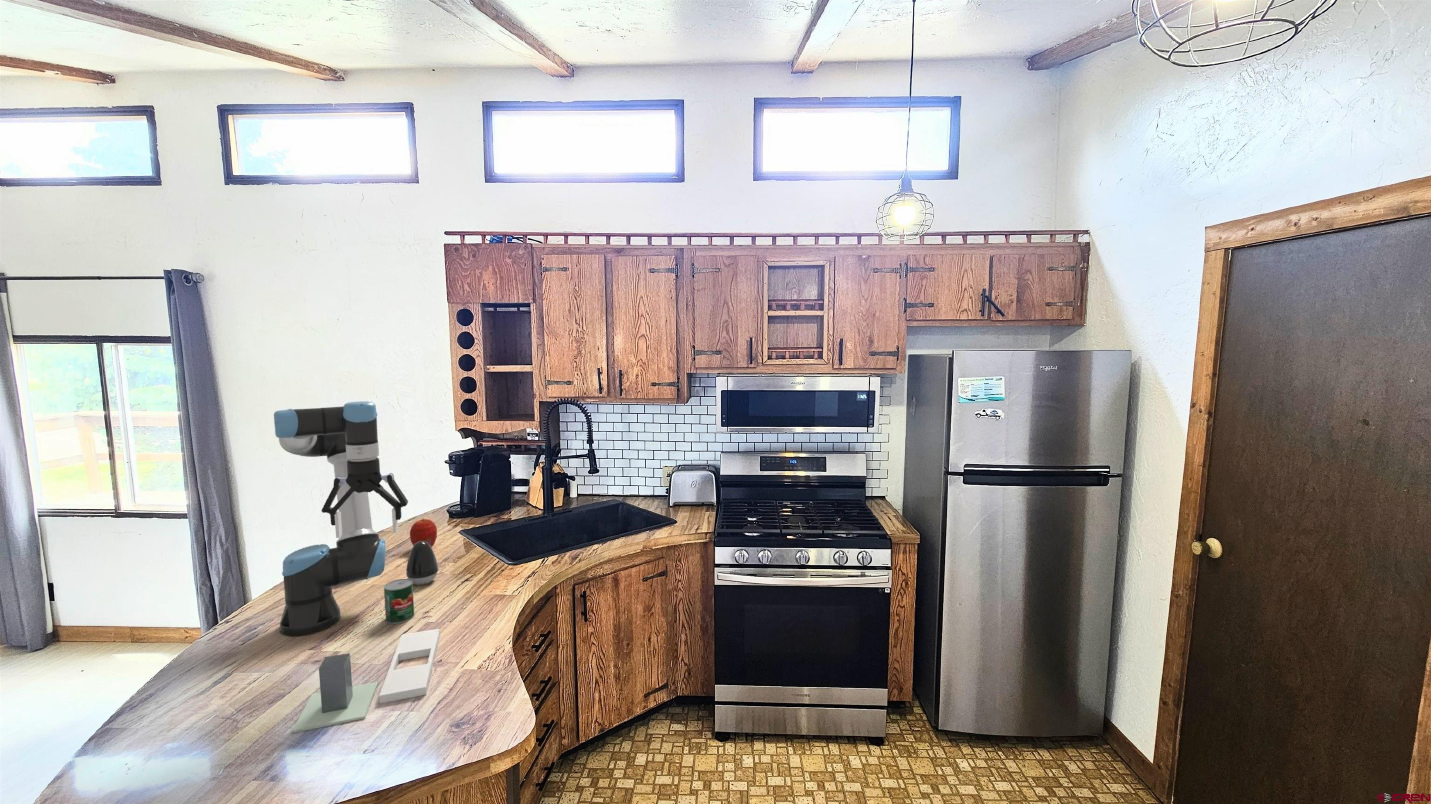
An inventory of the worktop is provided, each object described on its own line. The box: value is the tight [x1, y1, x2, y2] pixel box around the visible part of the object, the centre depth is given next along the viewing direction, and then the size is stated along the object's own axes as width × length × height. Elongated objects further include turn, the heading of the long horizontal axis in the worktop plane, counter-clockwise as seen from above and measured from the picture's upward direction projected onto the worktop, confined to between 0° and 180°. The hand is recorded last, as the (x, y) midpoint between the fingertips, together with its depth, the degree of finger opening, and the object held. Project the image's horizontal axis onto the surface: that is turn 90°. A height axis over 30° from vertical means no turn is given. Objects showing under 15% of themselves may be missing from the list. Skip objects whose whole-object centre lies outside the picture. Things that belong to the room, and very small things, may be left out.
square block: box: [318, 652, 353, 713], centre depth 132 cm, size 5×5×11 cm
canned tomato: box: [383, 578, 415, 625], centre depth 175 cm, size 8×8×11 cm
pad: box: [291, 681, 379, 734], centre depth 132 cm, size 14×14×1 cm
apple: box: [409, 518, 438, 548], centre depth 232 cm, size 10×10×14 cm
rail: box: [378, 628, 441, 704], centre depth 149 cm, size 10×30×2 cm, turn 20°
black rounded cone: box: [405, 539, 439, 586], centre depth 201 cm, size 10×10×15 cm
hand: (367, 533), depth 155 cm, fingers open, 13 cm apart
